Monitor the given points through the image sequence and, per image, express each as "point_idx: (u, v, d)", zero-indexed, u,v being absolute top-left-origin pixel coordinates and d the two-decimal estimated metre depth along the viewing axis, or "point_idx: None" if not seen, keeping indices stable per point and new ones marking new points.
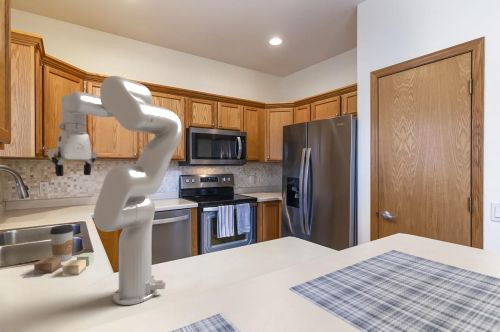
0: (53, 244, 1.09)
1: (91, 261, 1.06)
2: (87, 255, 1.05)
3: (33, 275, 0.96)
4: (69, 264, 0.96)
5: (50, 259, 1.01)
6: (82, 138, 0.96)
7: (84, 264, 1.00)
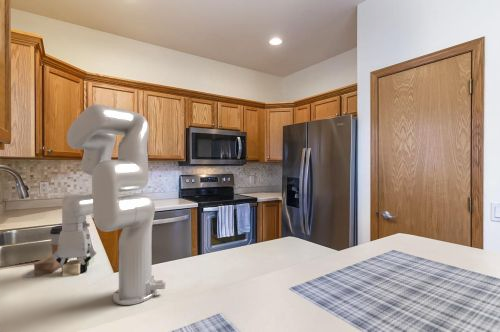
0: (53, 244, 1.09)
1: (91, 261, 1.06)
2: (87, 255, 1.05)
3: (33, 275, 0.96)
4: (69, 264, 0.96)
5: (50, 259, 1.01)
6: None
7: None
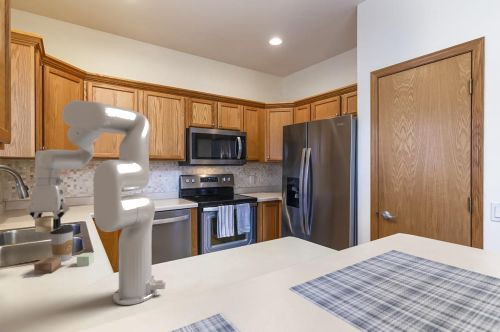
0: (53, 244, 1.09)
1: (91, 261, 1.06)
2: (87, 255, 1.05)
3: (33, 275, 0.96)
4: (42, 218, 0.98)
5: (50, 259, 1.01)
6: None
7: None
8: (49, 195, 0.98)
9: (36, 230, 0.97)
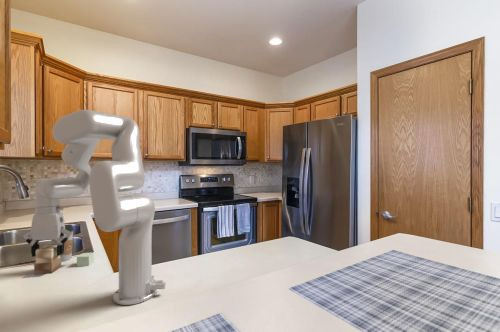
0: (53, 244, 1.09)
1: (91, 261, 1.06)
2: (87, 255, 1.05)
3: (33, 275, 0.96)
4: (42, 249, 0.98)
5: None
6: None
7: None
8: (49, 223, 0.98)
9: (36, 262, 0.97)
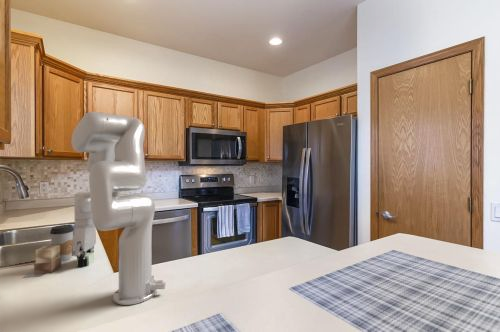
0: (53, 244, 1.09)
1: (91, 261, 1.06)
2: (87, 255, 1.05)
3: (33, 275, 0.96)
4: (42, 249, 0.98)
5: None
6: None
7: (58, 249, 1.02)
8: (94, 232, 1.08)
9: (36, 262, 0.97)
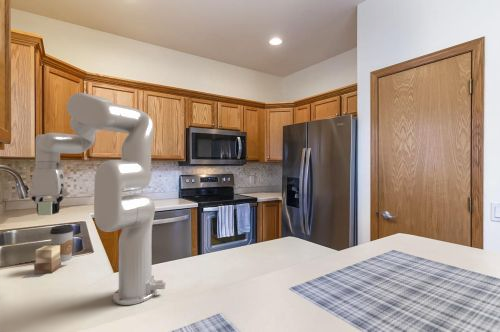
0: (53, 244, 1.09)
1: (44, 209, 0.98)
2: (43, 201, 0.99)
3: (33, 275, 0.96)
4: (42, 249, 0.98)
5: None
6: None
7: (58, 249, 1.02)
8: (49, 179, 0.98)
9: (36, 262, 0.97)
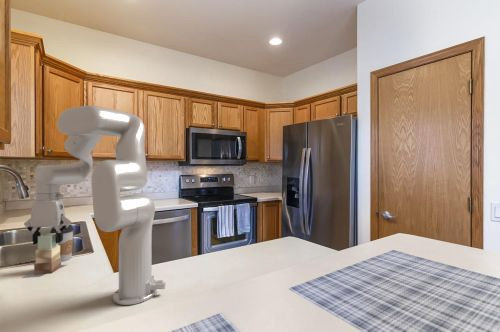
0: None
1: (44, 243, 0.98)
2: (43, 235, 0.99)
3: (33, 275, 0.96)
4: None
5: None
6: None
7: (58, 249, 1.02)
8: (49, 210, 0.98)
9: (36, 262, 0.97)
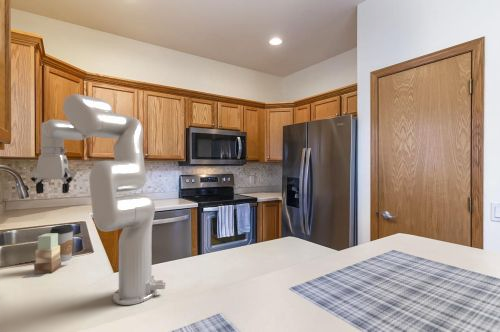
0: None
1: (44, 243, 0.98)
2: (43, 235, 0.99)
3: (33, 275, 0.96)
4: None
5: None
6: None
7: (58, 249, 1.02)
8: (54, 163, 1.05)
9: (36, 262, 0.97)
